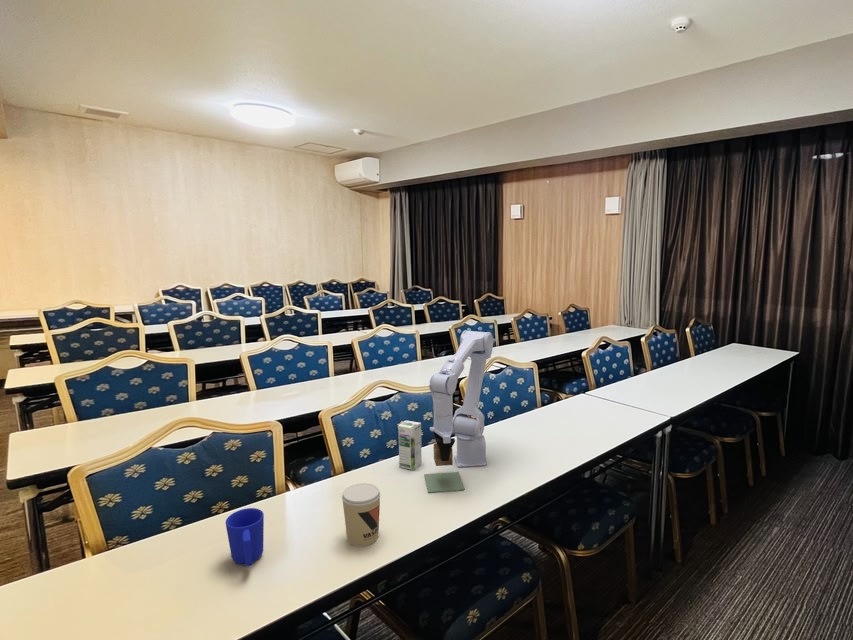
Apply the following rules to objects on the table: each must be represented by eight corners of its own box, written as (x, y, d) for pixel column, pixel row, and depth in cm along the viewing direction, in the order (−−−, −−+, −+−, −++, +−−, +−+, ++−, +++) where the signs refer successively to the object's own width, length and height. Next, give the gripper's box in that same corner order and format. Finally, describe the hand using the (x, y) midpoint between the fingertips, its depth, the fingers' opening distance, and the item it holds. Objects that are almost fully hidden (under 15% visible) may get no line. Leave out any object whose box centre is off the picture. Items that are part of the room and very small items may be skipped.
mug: (229, 584, 100) (225, 541, 98) (228, 551, 111) (225, 512, 109) (269, 573, 103) (266, 531, 101) (265, 542, 114) (262, 504, 112)
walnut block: (449, 457, 143) (449, 442, 143) (452, 465, 138) (452, 449, 138) (433, 458, 143) (433, 443, 142) (436, 466, 138) (435, 450, 137)
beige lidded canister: (365, 553, 109) (363, 505, 107) (335, 540, 114) (333, 495, 112) (389, 532, 117) (387, 488, 115) (360, 522, 122) (358, 479, 120)
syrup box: (398, 467, 152) (397, 425, 150) (407, 460, 157) (406, 419, 155) (413, 471, 150) (412, 428, 147) (422, 463, 155) (421, 421, 153)
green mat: (458, 472, 148) (458, 471, 148) (465, 490, 137) (465, 489, 137) (424, 475, 146) (424, 474, 146) (428, 493, 136) (428, 491, 136)
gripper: (427, 406, 145) (427, 447, 147) (432, 422, 131) (433, 468, 133) (449, 404, 146) (449, 445, 148) (457, 421, 132) (457, 466, 134)
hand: (443, 456), depth 140 cm, fingers closed on walnut block, 5 cm apart
